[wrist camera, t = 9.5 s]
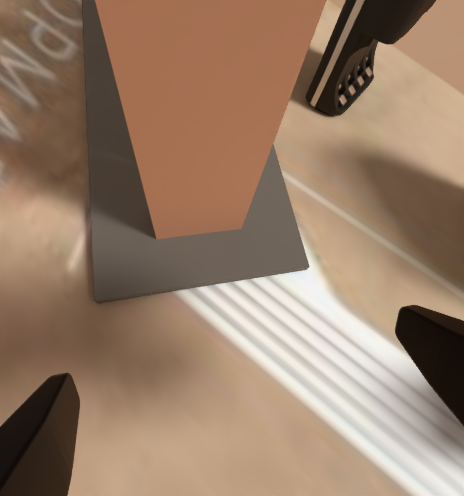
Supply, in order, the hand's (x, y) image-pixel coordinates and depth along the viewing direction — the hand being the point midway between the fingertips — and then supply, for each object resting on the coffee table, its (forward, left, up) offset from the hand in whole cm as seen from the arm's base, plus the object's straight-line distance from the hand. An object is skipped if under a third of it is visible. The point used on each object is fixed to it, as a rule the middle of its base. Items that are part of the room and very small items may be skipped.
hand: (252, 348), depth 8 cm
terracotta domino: (+8, -2, -8) cm, 11 cm away
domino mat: (+18, -5, -9) cm, 21 cm away
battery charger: (+14, -18, -9) cm, 24 cm away
